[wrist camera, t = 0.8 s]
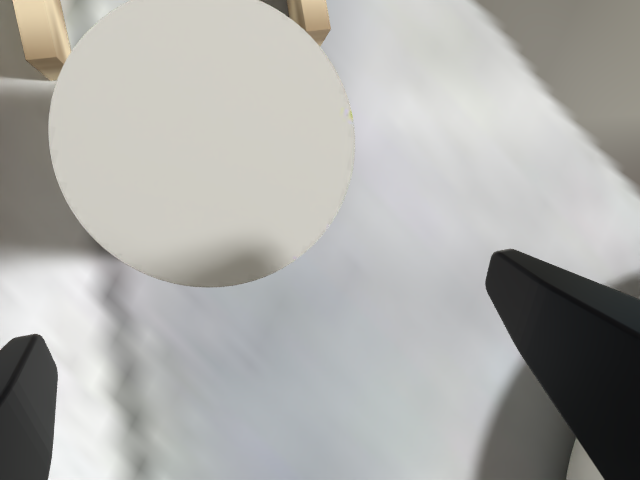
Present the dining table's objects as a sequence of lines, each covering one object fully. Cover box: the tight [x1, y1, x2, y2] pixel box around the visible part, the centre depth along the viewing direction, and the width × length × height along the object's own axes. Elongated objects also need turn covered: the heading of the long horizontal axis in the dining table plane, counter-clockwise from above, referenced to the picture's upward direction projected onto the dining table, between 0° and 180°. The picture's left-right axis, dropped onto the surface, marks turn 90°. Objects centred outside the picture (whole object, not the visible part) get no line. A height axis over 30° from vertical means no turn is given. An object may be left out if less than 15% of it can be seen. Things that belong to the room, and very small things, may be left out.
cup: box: [48, 0, 355, 287], centre depth 19 cm, size 8×8×12 cm
